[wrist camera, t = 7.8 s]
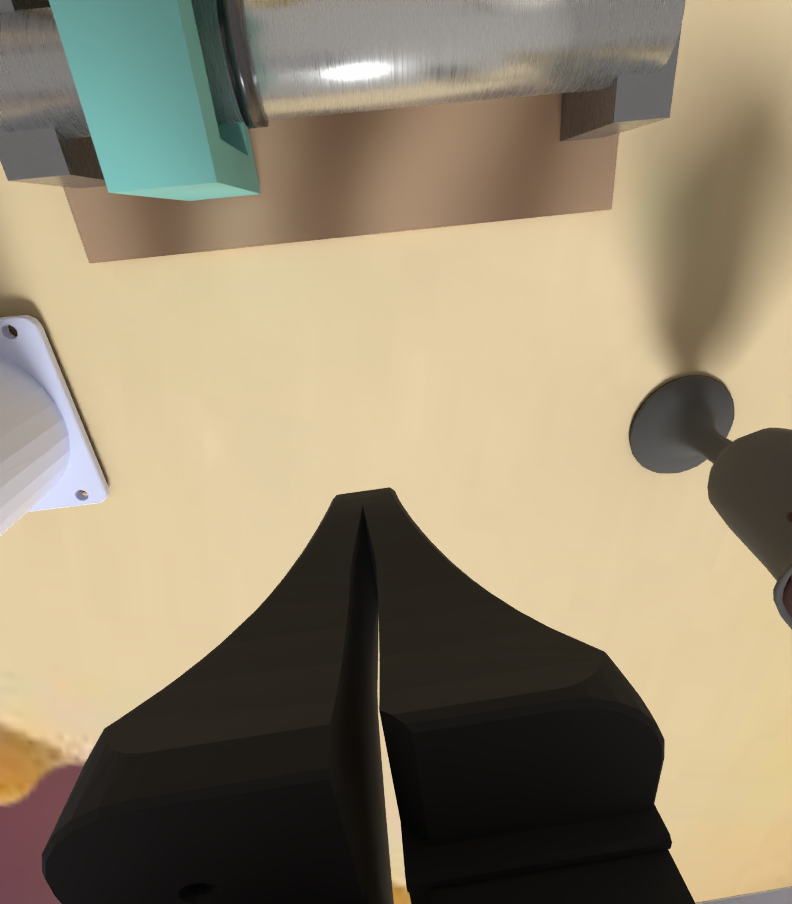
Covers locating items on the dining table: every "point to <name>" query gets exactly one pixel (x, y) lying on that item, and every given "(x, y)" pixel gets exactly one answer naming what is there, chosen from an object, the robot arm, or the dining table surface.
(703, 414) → the sundae
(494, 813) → the robot arm
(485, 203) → the base board
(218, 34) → the metal rail stand
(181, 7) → the collar
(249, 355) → the dining table surface
